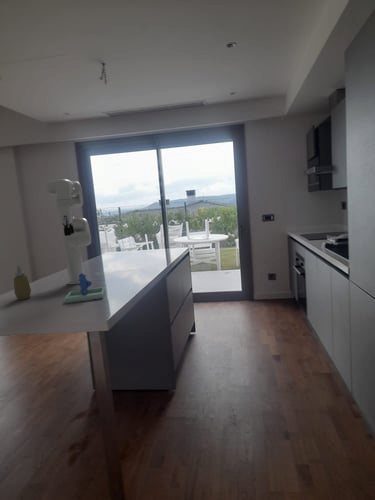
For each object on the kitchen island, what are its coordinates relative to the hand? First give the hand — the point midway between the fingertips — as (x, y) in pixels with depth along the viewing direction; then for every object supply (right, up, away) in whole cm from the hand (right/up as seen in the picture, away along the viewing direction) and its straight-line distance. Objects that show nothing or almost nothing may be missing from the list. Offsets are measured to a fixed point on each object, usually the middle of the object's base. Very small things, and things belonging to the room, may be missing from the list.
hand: (69, 234), depth 181 cm
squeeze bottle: (-25, -35, 0) cm, 43 cm away
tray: (+12, -33, -11) cm, 37 cm away
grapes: (+12, -32, -9) cm, 35 cm away
